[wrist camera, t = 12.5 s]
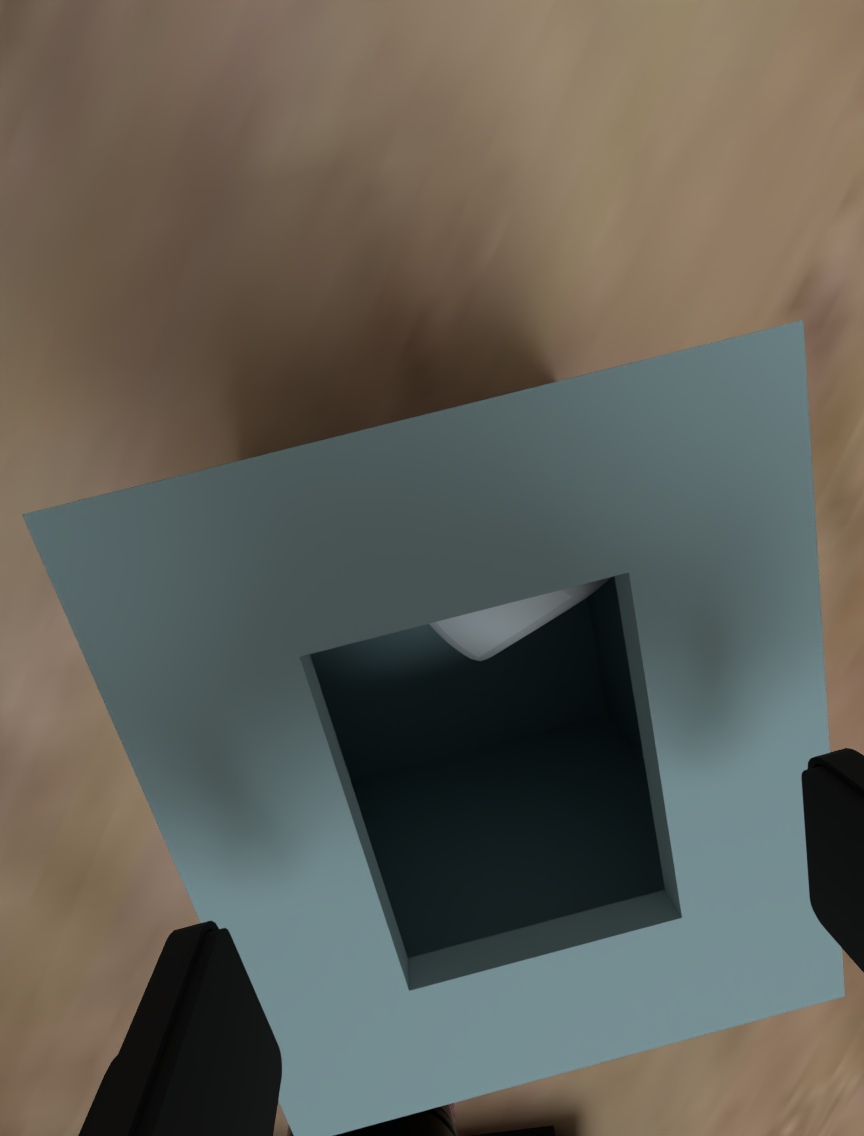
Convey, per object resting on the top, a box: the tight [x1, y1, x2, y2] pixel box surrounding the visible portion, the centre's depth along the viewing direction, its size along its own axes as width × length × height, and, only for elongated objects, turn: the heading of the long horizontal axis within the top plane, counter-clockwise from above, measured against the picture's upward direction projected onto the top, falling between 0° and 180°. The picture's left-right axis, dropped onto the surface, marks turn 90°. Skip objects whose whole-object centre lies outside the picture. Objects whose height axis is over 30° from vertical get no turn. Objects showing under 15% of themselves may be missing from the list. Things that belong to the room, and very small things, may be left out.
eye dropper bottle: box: [429, 577, 611, 661], centre depth 18 cm, size 4×6×12 cm
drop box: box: [23, 320, 845, 1136], centre depth 18 cm, size 16×14×14 cm
